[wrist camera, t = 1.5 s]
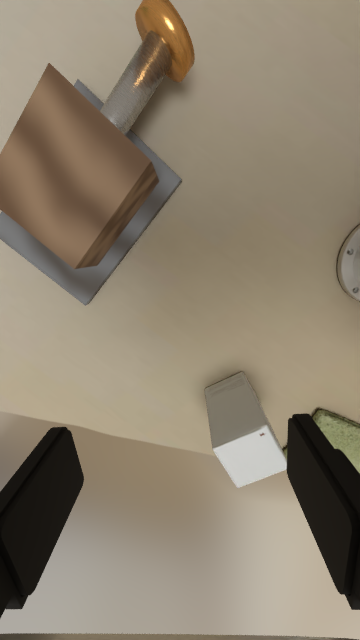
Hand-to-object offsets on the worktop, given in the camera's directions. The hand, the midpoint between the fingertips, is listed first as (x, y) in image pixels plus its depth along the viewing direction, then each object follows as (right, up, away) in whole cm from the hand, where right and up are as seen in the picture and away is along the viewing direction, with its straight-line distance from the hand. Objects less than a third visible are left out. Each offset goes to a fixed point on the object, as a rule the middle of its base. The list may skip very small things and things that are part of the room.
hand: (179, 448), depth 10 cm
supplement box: (+9, -8, +30) cm, 32 cm away
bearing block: (-13, +21, +22) cm, 33 cm away
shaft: (-7, +27, +18) cm, 33 cm away
